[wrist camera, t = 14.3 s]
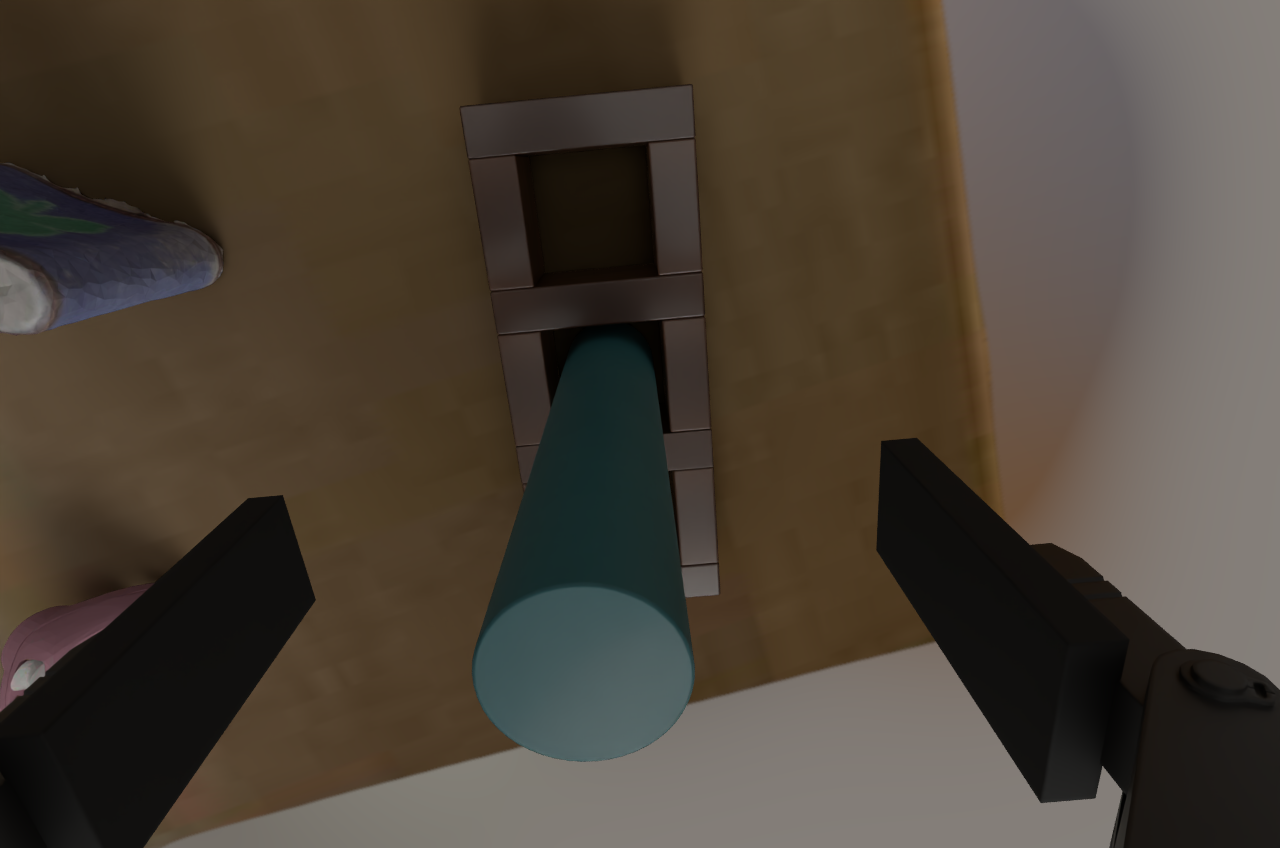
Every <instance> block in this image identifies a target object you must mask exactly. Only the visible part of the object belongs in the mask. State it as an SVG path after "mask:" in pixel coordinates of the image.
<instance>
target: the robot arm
mask: <svg viewBox="0 0 1280 848" xmlns="http://www.w3.org/2000/svg"><path fill="white" fill-rule="evenodd" d="M876 550H877V552H878V553H879V555H880V556H881V558H882V559H883V561H884V563H885V564H886V566H887V567H888V569H889V570H890V572H891V573H892V575H893V576H894V578H895V579H896V581H897V583H898V584H899V586H900V587H901V589H902V590H903V592H904V593H905V595H906V596H907V598H908V599H909V601H910V603H911V604H912V606H913V607H914V609H915V610H916V612H917V613H918V615H919V616H920V618H921V619H922V621H923V622H924V624H925V626H926V627H927V629H928V630H929V632H930V633H931V635H932V636H933V638H934V639H935V641H936V642H937V644H938V645H939V647H940V649H941V650H942V652H943V653H944V655H945V656H946V658H947V659H948V661H949V662H950V664H951V666H952V667H953V669H954V670H955V672H956V673H957V675H958V676H959V678H960V679H961V681H962V682H963V684H964V686H965V687H966V689H967V690H968V692H969V693H970V695H971V696H972V698H973V699H974V701H975V702H976V704H977V705H978V707H979V709H980V710H981V712H982V713H983V715H984V716H985V718H986V719H987V721H988V722H989V724H990V725H991V727H992V729H993V730H994V732H995V733H996V735H997V736H998V738H999V739H1000V741H1001V742H1002V744H1003V745H1004V747H1005V749H1006V750H1007V752H1008V753H1009V755H1010V756H1011V758H1012V759H1013V761H1014V762H1015V764H1016V765H1017V767H1018V769H1019V770H1020V772H1021V773H1022V775H1023V776H1024V778H1025V779H1026V781H1027V782H1028V784H1029V785H1030V787H1031V789H1032V790H1033V791H1034V793H1035V795H1036V796H1037V798H1038V799H1039V801H1040V802H1041V803H1045V802H1046V803H1047V802H1057V801H1070V800H1082V799H1093V798H1096V793H1097V788H1098V783H1099V779H1100V775H1101V770H1102V766H1103V767H1104V768H1105V769H1106V771H1107V772H1108V773H1109V774H1110V776H1111V777H1112V778H1113V779H1114V781H1115V782H1116V783H1117V784H1118V786H1119V787H1120V788H1121V790H1122V791H1123V792H1122V796H1121V800H1120V805H1119V809H1118V813H1117V818H1116V822H1115V826H1114V830H1113V834H1112V839H1111V843H1110V848H1280V690H1279V689H1278V688H1277V687H1276V686H1275V685H1274V684H1273V683H1272V682H1271V681H1270V680H1269V679H1268V678H1266V677H1265V676H1264V675H1262V674H1260V673H1259V672H1257V671H1255V670H1254V669H1252V668H1250V667H1248V666H1247V665H1245V664H1243V663H1240V662H1238V661H1235V660H1233V659H1230V658H1227V657H1225V656H1222V655H1219V654H1215V653H1210V652H1205V651H1200V650H1195V649H1185V647H1183V646H1182V645H1181V644H1180V643H1179V642H1178V641H1177V640H1175V639H1174V638H1173V637H1172V636H1171V635H1170V634H1168V633H1167V632H1166V631H1165V630H1163V628H1161V627H1160V626H1159V625H1158V624H1157V623H1156V622H1155V621H1154V620H1152V619H1151V618H1150V617H1149V616H1148V615H1147V614H1145V613H1144V612H1143V611H1142V610H1141V609H1140V608H1139V607H1137V606H1136V605H1135V604H1134V603H1133V602H1132V601H1130V600H1129V599H1128V598H1127V597H1122V595H1121V592H1120V591H1119V590H1118V589H1117V588H1115V587H1114V586H1113V585H1112V584H1111V583H1110V582H1109V581H1104V579H1103V576H1102V575H1101V574H1099V573H1098V572H1097V571H1096V570H1095V569H1094V568H1092V567H1091V566H1090V565H1089V564H1088V563H1087V562H1085V561H1084V560H1083V559H1082V558H1080V557H1078V556H1076V555H1074V554H1072V553H1070V552H1068V551H1066V550H1064V549H1062V548H1060V547H1058V546H1056V545H1054V544H1052V543H1046V544H1035V545H1029V544H1028V543H1027V542H1026V541H1025V540H1024V539H1023V538H1022V537H1021V536H1020V535H1019V534H1018V533H1017V532H1016V531H1015V530H1013V529H1012V528H1011V527H1010V526H1009V525H1008V524H1007V523H1006V522H1005V521H1004V520H1003V519H1002V518H1001V517H1000V516H999V515H998V514H997V513H996V512H994V511H993V510H992V509H991V508H990V507H989V506H988V505H987V504H986V503H985V502H984V501H983V500H982V499H981V498H980V497H979V496H978V495H977V494H975V493H974V492H973V491H972V490H971V489H970V488H969V487H968V486H967V485H966V484H965V483H964V482H963V481H962V480H961V479H960V478H959V477H957V476H956V475H955V474H954V473H953V472H952V471H951V470H950V469H949V468H948V467H947V466H946V465H945V464H944V463H943V462H942V461H941V460H940V459H938V458H937V457H936V456H935V455H934V454H933V453H932V452H931V451H930V450H929V449H928V448H927V447H926V446H925V445H924V444H923V443H922V442H920V441H919V440H918V439H917V438H910V439H899V440H888V441H881V461H880V483H879V505H878V527H877V549H876ZM315 600H316V599H315V596H314V593H313V590H312V587H311V583H310V580H309V577H308V574H307V571H306V568H305V564H304V561H303V558H302V555H301V552H300V548H299V545H298V542H297V539H296V536H295V533H294V529H293V526H292V523H291V520H290V517H289V513H288V510H287V507H286V504H285V501H284V498H283V495H280V496H269V497H258V498H248V499H247V500H246V501H245V502H244V503H242V504H241V505H240V506H239V507H238V508H237V509H236V510H235V511H234V512H233V513H231V514H230V515H229V516H228V517H227V518H226V519H225V520H224V521H223V522H221V523H220V524H219V525H218V526H217V527H216V528H215V529H214V530H213V531H212V532H210V533H209V534H208V535H207V536H206V537H205V538H204V539H203V540H202V541H201V542H199V543H198V544H197V545H196V546H195V547H194V548H193V549H192V550H191V551H189V552H188V553H187V554H186V555H185V556H184V557H183V558H182V559H181V560H180V561H178V562H177V563H176V564H175V565H174V566H173V567H172V568H171V569H170V570H168V571H167V572H166V573H165V574H164V575H163V576H162V577H161V578H160V579H159V580H157V581H156V582H155V583H154V584H153V585H152V586H151V587H150V588H149V589H148V590H146V591H145V592H144V593H143V594H142V595H141V596H140V597H139V598H138V599H136V600H135V601H134V602H133V603H132V604H131V605H130V606H129V607H128V608H127V609H125V610H124V611H123V612H122V613H121V614H120V615H119V616H118V617H117V618H116V619H114V620H113V621H112V622H111V623H110V624H109V625H108V626H107V627H106V628H104V629H103V630H102V631H100V632H99V633H97V634H95V635H94V636H92V637H90V638H89V639H87V640H85V641H84V642H82V643H81V644H79V645H77V646H76V647H74V648H72V649H71V650H70V651H68V652H67V653H66V654H65V655H64V656H63V657H62V658H61V659H59V660H58V661H57V662H56V663H55V664H54V665H53V666H52V667H50V668H49V669H48V670H47V671H46V672H45V676H44V677H39V678H38V679H37V680H36V681H35V682H34V683H32V684H31V685H30V686H29V687H28V688H27V689H26V690H25V691H24V694H23V696H18V697H17V698H16V699H14V700H13V701H12V702H11V703H10V704H9V705H8V706H7V707H5V708H4V709H3V710H2V711H1V712H0V848H144V846H145V845H146V843H147V842H148V840H149V839H150V837H151V836H152V835H153V833H154V832H155V830H156V829H157V827H158V826H159V825H160V823H161V822H162V820H163V819H164V817H165V816H166V814H167V813H168V812H169V810H170V809H171V807H172V806H173V804H174V803H175V802H176V800H177V799H178V797H179V796H180V794H181V793H182V791H183V790H184V789H185V787H186V786H187V784H188V783H189V781H190V780H191V779H192V777H193V776H194V774H195V773H196V771H197V770H198V769H199V767H200V766H201V764H202V763H203V761H204V760H205V758H206V757H207V756H208V754H209V753H210V751H211V750H212V748H213V747H214V746H215V744H216V743H217V741H218V740H219V738H220V737H221V735H222V734H223V733H224V731H225V730H226V728H227V727H228V725H229V724H230V723H231V721H232V720H233V718H234V717H235V715H236V714H237V712H238V711H239V710H240V708H241V707H242V705H243V704H244V702H245V701H246V700H247V698H248V697H249V695H250V694H251V692H252V691H253V689H254V688H255V687H256V685H257V684H258V682H259V681H260V679H261V678H262V677H263V675H264V674H265V672H266V671H267V669H268V668H269V666H270V665H271V664H272V662H273V661H274V659H275V658H276V656H277V655H278V654H279V652H280V651H281V649H282V648H283V646H284V645H285V643H286V642H287V641H288V639H289V638H290V636H291V635H292V633H293V632H294V631H295V629H296V628H297V626H298V625H299V623H300V622H301V620H302V619H303V618H304V616H305V615H306V613H307V612H308V610H309V609H310V608H311V606H312V605H313V603H314V602H315Z"/></svg>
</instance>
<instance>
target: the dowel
mask: <svg viewBox="0 0 1280 848" xmlns="http://www.w3.org/2000/svg"><path fill="white" fill-rule="evenodd" d="M472 677H473V684H474V688H475V691H476V695H477V698H478V700H479V702H480V704H481V706H482V708H483V710H484V712H485V713H486V715H487V716H488V718H489V719H490V720H491V721H492V722H493V724H494V725H495V726H496V727H497V728H498V729H499V730H500V731H501V732H503V733H504V734H505V735H506V736H507V737H509V738H510V739H512V740H513V741H515V742H516V743H517V744H519V745H521V746H523V747H525V748H527V749H529V750H531V751H534V752H536V753H539V754H541V755H545V756H548V757H552V758H556V759H562V760H567V761H581V762H582V761H583V762H586V761H601V760H609V759H613V758H617V757H621V756H625V755H627V754H630V753H633V752H636V751H638V750H640V749H642V748H644V747H646V746H648V745H649V744H651V743H652V742H654V741H655V740H657V739H659V738H660V737H661V736H662V735H664V734H665V733H666V732H667V731H668V730H669V729H670V728H671V727H672V726H673V725H674V724H675V722H676V721H677V720H678V719H679V717H680V716H681V714H682V713H683V711H684V709H685V707H686V705H687V703H688V701H689V699H690V696H691V693H692V690H693V684H694V678H695V665H694V658H693V651H692V643H691V636H690V629H689V621H688V614H687V607H686V599H685V592H684V585H683V577H682V570H681V562H680V555H679V548H678V540H677V533H676V526H675V518H674V511H673V504H672V496H671V489H670V482H669V474H668V467H667V460H666V452H665V445H664V438H663V430H662V423H661V416H660V408H659V401H658V393H657V386H656V379H655V371H654V364H653V357H652V352H651V348H650V346H649V344H648V342H647V340H646V339H645V338H644V336H643V335H642V334H641V333H640V332H639V331H638V330H636V329H635V328H634V327H632V326H630V325H628V324H626V323H623V324H612V325H601V326H590V327H586V328H585V329H583V330H582V331H581V332H580V333H579V334H578V335H577V336H576V338H575V339H574V340H573V342H572V344H571V346H570V349H569V352H568V355H567V358H566V362H565V365H564V368H563V371H562V374H561V378H560V381H559V384H558V387H557V390H556V393H555V397H554V400H553V403H552V406H551V409H550V412H549V416H548V419H547V422H546V425H545V428H544V431H543V435H542V438H541V441H540V444H539V447H538V450H537V454H536V457H535V460H534V463H533V466H532V469H531V473H530V476H529V479H528V482H527V485H526V488H525V492H524V495H523V498H522V501H521V504H520V507H519V511H518V514H517V517H516V520H515V523H514V526H513V530H512V533H511V536H510V539H509V542H508V545H507V549H506V552H505V555H504V558H503V561H502V564H501V568H500V571H499V574H498V577H497V580H496V583H495V587H494V590H493V593H492V596H491V599H490V602H489V606H488V609H487V612H486V615H485V618H484V621H483V625H482V628H481V631H480V634H479V637H478V640H477V644H476V647H475V650H474V655H473V660H472Z"/></svg>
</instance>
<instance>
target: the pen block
mask: <svg viewBox="0 0 1280 848" xmlns="http://www.w3.org/2000/svg"><path fill="white" fill-rule="evenodd" d="M459 109H460V115H461V121H462V127H463V133H464V139H465V145H466V151H467V157H468V159H469V161H468V162H469V168H470V174H471V180H472V186H473V192H474V198H475V204H476V210H477V216H478V222H479V228H480V234H481V240H482V246H483V252H484V258H485V264H486V270H487V276H488V282H489V288H490V291H491V300H492V306H493V312H494V318H495V324H496V330H497V333H498V334H499V335H498V343H499V349H500V355H501V361H502V367H503V373H504V379H505V385H506V391H507V397H508V403H509V409H510V415H511V421H512V427H513V433H514V439H515V445H516V452H517V458H518V464H519V470H520V476H521V482H522V483H523V485H522V486H523V492H525V488H526V485H527V482H528V479H529V476H530V473H531V469H532V466H533V463H534V460H535V457H536V454H537V450H538V447H539V444H540V441H541V438H542V435H543V431H544V428H545V425H546V422H547V419H548V416H549V412H550V409H551V406H552V403H553V400H554V397H555V393H556V390H557V387H558V384H559V381H560V378H559V371H558V364H557V356H556V349H555V342H554V334H553V330H558V329H569V328H579V327H590V326H601V325H612V324H623V323H634V322H645V321H656V320H659V329H660V342H661V354H662V367H663V379H664V392H665V403H666V404H659V408H660V416H661V423H662V430H663V438H664V445H665V452H666V460H667V467H668V471H671V480H672V493H673V505H674V518H675V526H676V533H677V540H678V548H679V555H680V562H681V570H682V577H683V585H684V592H685V598H689V597H700V596H712V595H719V594H720V578H719V563H718V560H719V559H718V541H717V523H716V505H715V486H714V468H713V448H712V430H711V413H710V395H709V377H708V358H707V340H706V322H705V317H704V315H705V304H704V285H703V273H702V272H701V271H702V270H703V266H702V248H701V230H700V212H699V193H698V175H697V157H696V140H695V138H694V137H695V119H694V100H693V85H692V84H686V85H676V86H665V87H655V88H645V89H634V90H624V91H613V92H603V93H593V94H582V95H572V96H561V97H551V98H541V99H530V100H520V101H509V102H499V103H489V104H478V105H468V106H460V108H459ZM641 145H646V146H645V153H646V165H647V178H648V191H649V203H650V216H651V228H652V241H653V254H654V263H653V264H642V265H631V266H620V267H609V268H599V269H588V270H577V271H566V272H555V273H545V268H544V261H543V254H542V246H541V239H540V232H539V224H538V217H537V209H536V202H535V195H534V187H533V180H532V173H531V165H530V158H529V157H528V156H536V155H546V154H557V153H568V152H578V151H589V150H599V149H610V148H620V147H631V146H641ZM544 273H545V274H544Z"/></svg>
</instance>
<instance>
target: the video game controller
mask: <svg viewBox="0 0 1280 848" xmlns="http://www.w3.org/2000/svg"><path fill="white" fill-rule="evenodd" d="M153 584H154V583H149V584H143V585H137V586H132V587H128V588H124V589H120V590H116V591H112V592H109V593H106V594H103V595H100V596H97V597H95V598H92V599H89V600H86V601H83V602H80V603H77V604H74V605H71V606H56V607H51V608H48V609H45V610H42V611H40V612H38V613H36V614H34V615H32V616H30V617H29V618H27V619H26V620H24V621H23V622H22V623H21V624H19V626H18V627H17V628H16V629H15V630H14V631H13V632H12V634H11V635H10V637H9V638H8V640H7V642H6V644H5V646H4V649H3V651H2V657H1V661H2V666H3V669H4V675H3V679H2V684H1V688H0V712H1V711H2V710H3V709H4V708H5V707H7V706H8V705H9V704H10V703H11V702H12V701H13V700H14V699H16V698H17V697H18V696H23V694H24V691H25V690H26V689H27V688H28V687H29V686H30V685H31V684H32V683H34V682H35V681H36V680H37V679H38V678H39V677H44V676H45V672H46V671H47V670H48V669H49V668H50V667H52V666H53V665H54V664H55V663H56V662H57V661H58V660H59V659H61V658H62V657H63V656H64V655H65V654H66V653H67V652H68V651H70V650H71V649H72V648H74V647H76V646H77V645H79V644H81V643H82V642H84V641H85V640H87V639H89V638H90V637H92V636H94V635H95V634H97V633H99V632H100V631H102V630H103V629H104V628H106V627H107V626H108V625H109V624H110V623H111V622H112V621H113V620H114V619H116V618H117V617H118V616H119V615H120V614H121V613H122V612H123V611H124V610H125V609H127V608H128V607H129V606H130V605H131V604H132V603H133V602H134V601H135V600H136V599H138V598H139V597H140V596H141V595H142V594H143V593H144V592H145V591H146V590H148V589H149V588H150V587H151V586H152V585H153Z"/></svg>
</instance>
